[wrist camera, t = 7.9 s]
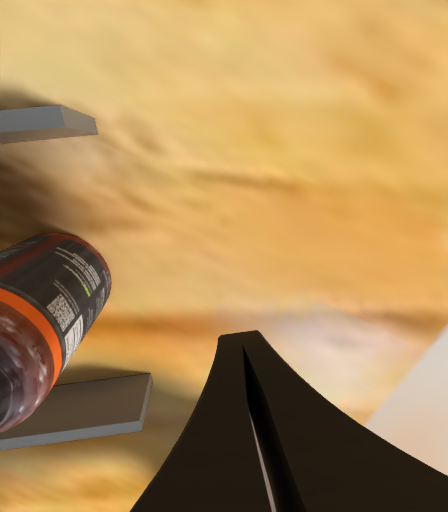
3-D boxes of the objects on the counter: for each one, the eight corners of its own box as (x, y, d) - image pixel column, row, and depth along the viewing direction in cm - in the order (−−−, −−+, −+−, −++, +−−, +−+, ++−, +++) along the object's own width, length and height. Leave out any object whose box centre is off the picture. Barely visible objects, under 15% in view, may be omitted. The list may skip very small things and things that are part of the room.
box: (152, 382, 21) (141, 430, 17) (-28, 406, 21) (-79, 461, 17) (94, 118, 15) (59, 104, 12) (-157, 142, 15) (-278, 136, 11)
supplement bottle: (-4, 285, 18) (-307, 470, 7) (45, 209, 17) (-229, 297, 6) (83, 334, 19) (-61, 547, 9) (133, 268, 18) (39, 421, 8)
